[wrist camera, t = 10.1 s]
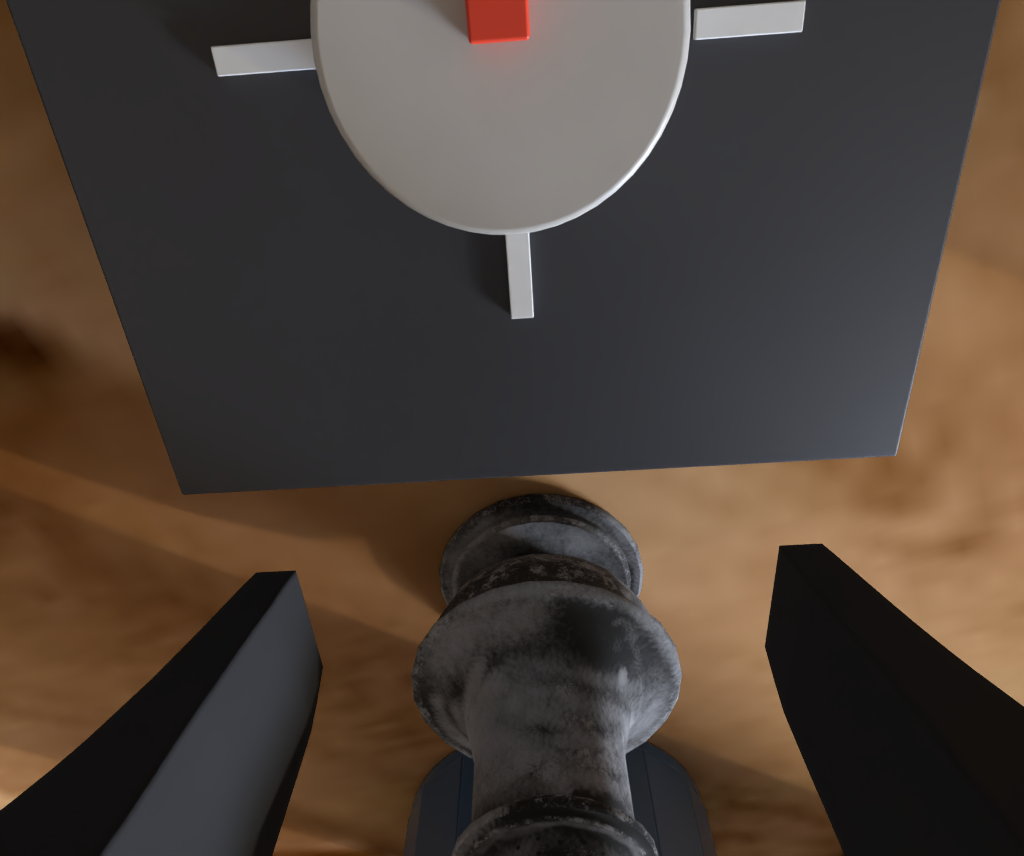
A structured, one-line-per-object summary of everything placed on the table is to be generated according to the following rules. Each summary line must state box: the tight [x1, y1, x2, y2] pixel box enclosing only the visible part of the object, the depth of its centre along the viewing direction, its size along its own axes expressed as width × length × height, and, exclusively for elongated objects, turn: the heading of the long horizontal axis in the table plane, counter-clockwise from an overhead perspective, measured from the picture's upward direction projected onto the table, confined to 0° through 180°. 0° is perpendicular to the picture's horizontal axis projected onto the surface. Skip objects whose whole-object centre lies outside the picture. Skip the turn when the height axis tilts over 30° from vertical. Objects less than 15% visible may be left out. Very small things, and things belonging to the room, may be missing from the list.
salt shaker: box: [411, 495, 682, 856], centre depth 14 cm, size 6×6×12 cm
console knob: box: [310, 0, 691, 235], centre depth 8 cm, size 4×4×4 cm
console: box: [6, 0, 1001, 495], centre depth 12 cm, size 11×13×4 cm
